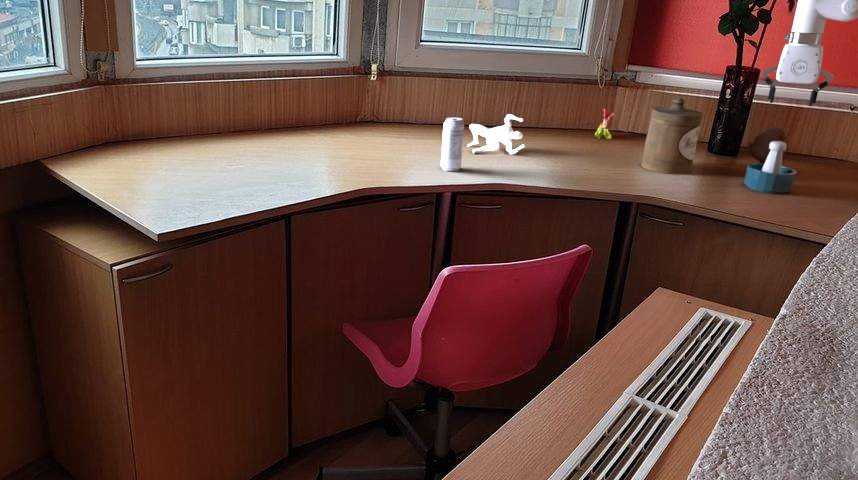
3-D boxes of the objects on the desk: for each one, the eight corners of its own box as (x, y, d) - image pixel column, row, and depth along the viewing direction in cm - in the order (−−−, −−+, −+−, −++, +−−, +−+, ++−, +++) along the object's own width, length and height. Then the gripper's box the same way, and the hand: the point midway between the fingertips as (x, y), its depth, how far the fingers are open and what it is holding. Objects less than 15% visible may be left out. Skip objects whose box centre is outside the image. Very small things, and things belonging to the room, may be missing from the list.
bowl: (790, 187, 211) (796, 167, 209) (791, 197, 200) (797, 176, 198) (744, 180, 216) (748, 161, 214) (742, 190, 205) (747, 169, 203)
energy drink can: (454, 166, 217) (458, 116, 212) (464, 171, 212) (468, 120, 207) (436, 167, 215) (440, 117, 209) (446, 172, 210) (449, 121, 204)
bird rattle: (591, 141, 269) (595, 136, 260) (595, 112, 270) (598, 106, 261) (609, 143, 268) (612, 138, 259) (612, 113, 269) (616, 107, 260)
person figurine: (467, 119, 230) (523, 112, 229) (463, 121, 243) (516, 113, 242) (471, 160, 232) (527, 152, 231) (468, 159, 245) (520, 152, 244)
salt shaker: (774, 190, 204) (785, 145, 199) (753, 185, 208) (764, 141, 203) (782, 186, 208) (793, 142, 203) (761, 182, 212) (772, 138, 207)
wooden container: (689, 177, 217) (704, 104, 208) (638, 170, 222) (651, 98, 214) (692, 167, 229) (706, 97, 221) (644, 160, 235) (656, 92, 227)
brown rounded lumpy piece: (752, 169, 230) (763, 122, 225) (787, 177, 222) (799, 129, 216) (734, 173, 224) (745, 125, 219) (769, 181, 216) (782, 132, 210)
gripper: (769, 38, 193) (755, 102, 200) (843, 42, 186) (826, 108, 193) (769, 37, 200) (756, 99, 206) (841, 40, 192) (825, 105, 199)
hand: (790, 103), depth 199 cm, fingers open, 9 cm apart
